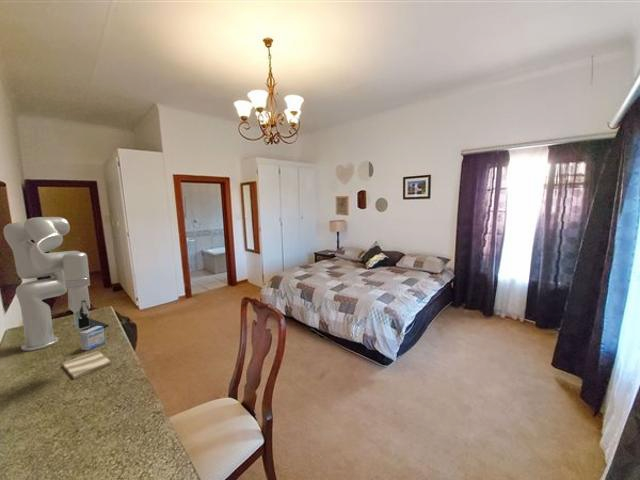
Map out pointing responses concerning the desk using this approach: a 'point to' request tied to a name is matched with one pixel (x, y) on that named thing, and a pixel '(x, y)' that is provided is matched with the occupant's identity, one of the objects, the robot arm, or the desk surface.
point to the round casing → (77, 321)
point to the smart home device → (96, 324)
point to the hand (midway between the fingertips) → (82, 325)
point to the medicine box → (92, 338)
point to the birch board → (86, 364)
